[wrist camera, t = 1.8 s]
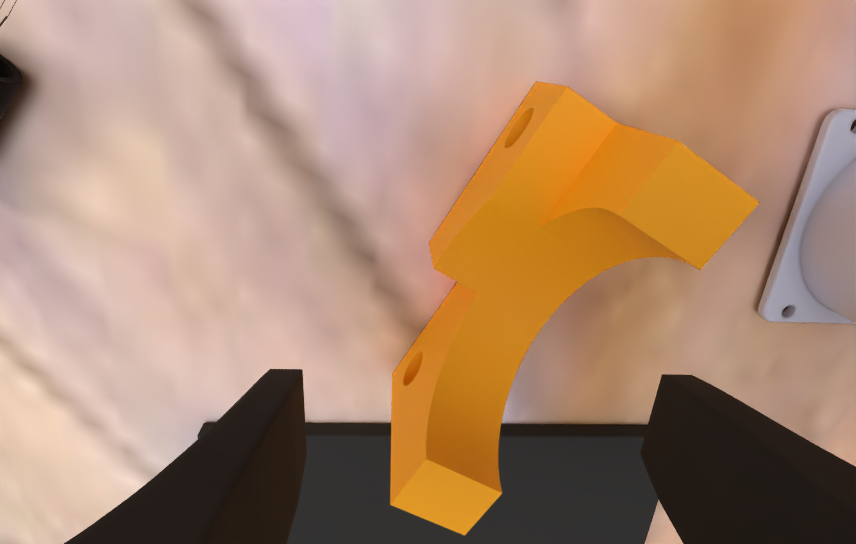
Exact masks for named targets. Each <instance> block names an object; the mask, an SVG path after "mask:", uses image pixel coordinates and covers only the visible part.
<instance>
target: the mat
mask: <svg viewBox="0 0 856 544" xmlns="http://www.w3.org/2000/svg"><path fill="white" fill-rule="evenodd" d="M214 424H215V423H204V424H203V426H202V428H201V430H200V432H199V434H198V439H199V438H200V437H201V436H202V435H203V434H204V433H205V432H206V431H207V430H208V429H209V428H211V427H212V426H213V425H214ZM647 427H648V425H501V428H500V435H499V447H498V468H499V478H500V484H501V489H502V494H501V495H500V496H499V497H498V499H497V500H496V501H495V502H494V503H493V504H492V505H491V506H490V508H489V509H488V510H487V511H486V512H485V513H484V514H483V515H482V517H481V518H480V519H479V520H478V521H477V522H476V523H475V524H474V526H473V527H472V528H471V529H470V530H469V531H468V532H467V533H466V535H465V536H464V535H462V534H460V533H457V532H455V531H452V530H450V529H448V528H445V527H443V526H440V525H438V524H435V523H433V522H431V521H428V520H426V519H423V518H421V517H418V516H416V515H414V514H411V513H409V512H406V511H404V510H402V509H399V508H397V507H394V506H392V505H390V485H391V424H305V430H306V449H307V454H306V460H305V466H304V472H303V478H302V484H301V490H300V496H299V501H298V505H297V509H296V513H295V516H294V520H293V523H292V527H291V530H290V534H289V537H288V541H287V544H645V540H646V537H647V534H648V531H649V528H650V524H651V521H652V518H653V515H654V512H655V509H656V505H657V502H658V499H659V498H658V496H657V494H656V492H655V489H654V487H653V485H652V482H651V480H650V478H649V475H648V472H647V470H646V467H645V465H644V462H643V460H642V457H641V455H640V452H641V448H642V445H643V441H644V437H645V434H646V430H647Z"/></svg>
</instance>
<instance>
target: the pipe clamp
mask: <svg viewBox="0 0 856 544" xmlns="http://www.w3.org/2000/svg"><path fill="white" fill-rule="evenodd" d="M759 203H760V202H759V201H757V200H756V199H755V198H753V197H752V196H751V195H749V194H748V193H747V192H745V191H744V190H743V189H741V188H740V187H739V186H737V185H736V184H735V183H733V182H732V181H731V180H730V179H728V178H727V177H726V176H724V175H723V174H722V173H720V172H719V171H718V170H716V169H715V168H714V167H712V166H711V165H710V164H708V163H707V162H706V161H704V160H703V159H702V158H700V157H699V156H698V155H697V154H695V153H694V152H693V151H691V150H690V149H689V148H687V147H686V146H685V145H683V144H682V143H681V142H679V141H677V140H674V139H671V138H667V137H664V136H660V135H657V134H653V133H650V132H646V131H643V130H640V129H636V128H633V127H629V126H626V125H622V124H619V123H617V122H615V121H614V120H612V119H611V118H610V117H608V116H607V115H606V114H604V113H603V112H602V111H600V110H599V109H598V108H596V107H595V106H593V105H592V104H591V103H589V102H588V101H587V100H585V99H584V98H583V97H581V96H580V95H579V94H577V93H576V92H574V91H573V90H572V89H570V88H569V87H568V86H562V85H556V84H549V83H543V82H537V81H536V82H535V84H534V85H533V87H532V88H531V90H530V92H529V93H528V95H527V96H526V98H525V99H524V101H523V102H522V104H521V105H520V107H519V108H518V110H517V111H516V113H515V114H514V116H513V117H512V119H511V120H510V122H509V123H508V125H507V126H506V128H505V129H504V131H503V132H502V134H501V135H500V137H499V138H498V140H497V141H496V143H495V144H494V146H493V147H492V149H491V150H490V152H489V153H488V155H487V156H486V158H485V159H484V161H483V162H482V164H481V165H480V167H479V168H478V170H477V171H476V173H475V174H474V176H473V177H472V179H471V180H470V182H469V183H468V185H467V186H466V188H465V189H464V191H463V192H462V194H461V195H460V197H459V198H458V200H457V201H456V203H455V204H454V206H453V207H452V209H451V210H450V212H449V213H448V215H447V216H446V218H445V219H444V221H443V222H442V224H441V225H440V227H439V228H438V230H437V231H436V233H435V234H434V236H433V237H432V239H431V240H430V242H429V245H430V251H431V257H432V262H433V268H434V269H436V270H437V271H439V272H441V273H443V274H445V275H446V276H448V277H450V278H452V279H453V280H455V281H457V283H456V285H455V286H454V287H453V289H452V290H451V292H450V293H449V294H448V296H447V297H446V299H445V300H444V301H443V303H442V304H441V306H440V307H439V309H438V310H437V311H436V313H435V314H434V316H433V317H432V318H431V320H430V321H429V323H428V324H427V326H426V327H425V328H424V330H423V331H422V333H421V334H420V335H419V337H418V338H417V340H416V341H415V342H414V344H413V345H412V347H411V348H410V350H409V351H408V352H407V354H406V355H405V357H404V358H403V359H402V361H401V362H400V364H399V365H398V367H397V368H396V369H395V371H394V372H393V374H392V418H391V485H390V505H392V506H394V507H397V508H399V509H402V510H404V511H406V512H409V513H411V514H414V515H416V516H418V517H421V518H423V519H426V520H428V521H431V522H433V523H435V524H438V525H440V526H443V527H445V528H448V529H450V530H452V531H455V532H457V533H460V534H462V535H464V536H465V535H466V533H467V532H468V531H469V530H470V529H471V528H472V527H473V526H474V524H475V523H476V522H477V521H478V520H479V519H480V518H481V517H482V515H483V514H484V513H485V512H486V511H487V510H488V509H489V508H490V506H491V505H492V504H493V503H494V502H495V501H496V500H497V499H498V497H499V496H500V495H501V494H502V489H501V484H500V478H499V468H498V447H499V435H500V428H501V422H502V416H503V412H504V408H505V404H506V401H507V397H508V394H509V391H510V388H511V385H512V382H513V380H514V377H515V375H516V373H517V370H518V368H519V366H520V364H521V362H522V360H523V358H524V356H525V354H526V352H527V350H528V349H529V347H530V345H531V343H532V342H533V340H534V339H535V337H536V335H537V334H538V332H539V331H540V330H541V328H542V327H543V325H544V324H545V323H546V321H547V320H548V319H549V318H550V316H551V315H552V314H553V313H554V312H555V311H556V309H557V308H558V307H559V306H560V305H561V304H562V303H563V302H564V301H565V300H566V299H567V298H568V297H569V296H570V295H571V294H572V293H574V292H575V291H576V290H577V289H578V288H579V287H581V286H582V285H583V284H585V283H586V282H587V281H589V280H590V279H592V278H593V277H595V276H596V275H598V274H600V273H601V272H603V271H605V270H607V269H609V268H611V267H613V266H616V265H618V264H621V263H624V262H627V261H630V260H634V259H639V258H644V257H668V258H672V259H677V260H680V261H683V262H686V263H688V264H690V265H692V266H694V267H696V268H697V269H699V270H701V268H702V267H703V266H704V265H705V264H706V263H707V262H708V261H709V259H710V258H711V257H712V256H713V255H714V254H715V253H716V252H717V250H718V249H719V248H720V247H721V246H722V245H723V244H724V243H725V241H726V240H727V239H728V238H729V237H730V236H731V235H732V234H733V232H734V231H735V230H736V229H737V228H738V227H739V226H740V224H741V223H742V222H743V221H744V220H745V219H746V218H747V217H748V215H749V214H750V213H751V212H752V211H753V210H754V209H755V208H756V206H757V205H758V204H759Z"/></svg>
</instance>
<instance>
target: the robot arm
mask: <svg viewBox="0 0 856 544" xmlns="http://www.w3.org/2000/svg"><path fill="white" fill-rule="evenodd" d="M854 120H856V109H847V108H840V109H835V110H833V111H832V112H830V113H829V114H828V115H827V116H826V117H825V119H824V121H823V123H822V125H821V128H820V131H819V134H818V137H817V140H816V143H815V145H814V148H813V151H812V154H811V157H810V160H809V163H808V166H807V168H806V171H805V174H804V177H803V180H802V183H801V186H800V189H799V192H798V194H797V197H796V200H795V203H794V206H793V209H792V212H791V215H790V217H789V220H788V223H787V226H786V229H785V232H784V235H783V238H782V240H781V243H780V246H779V249H778V252H777V255H776V258H775V261H774V263H773V266H772V269H771V272H770V275H769V278H768V281H767V284H766V286H765V289H764V292H763V295H762V298H761V301H760V304H759V307H758V313H759V315H760V316H761V317H762V318H763V319H765V320H766V321H769V322H789V323H835V324H856V125H855V127H854V129H852V130H851V124H852V123H853V121H854ZM787 306H788V308H787V309H786V310H785V311H784V312H782V311H783V309H784V308H786V307H787ZM306 454H307V449H306V430H305V411H304V392H303V373H302V369H270V370H269V371H268V372H266V373H265V374H264V375H263V376H262V377H261V378H260V379H259V380H258V381H257V382H256V383H255V384H254V385H253V386H252V387H251V388H250V389H249V390H248V391H247V392H246V393H245V394H244V395H243V396H242V397H241V398H240V399H239V400H238V401H237V402H236V403H235V404H234V405H233V406H232V407H231V408H230V409H229V410H228V411H227V412H226V413H225V414H224V415H223V416H222V417H221V418H220V419H219V420H218V421H217V422H216V423H215V424H214V425H213V426H212V427H211V428H209V429H208V430H207V431H206V432H205V433H204V434H203V435H202V436H201V437H200V438H199V439H198V440H197V441H196V442H195V443H193V444H192V445H191V446H190V447H189V448H188V449H187V450H186V451H184V452H183V453H182V454H181V455H180V456H179V457H177V458H176V459H175V460H174V461H173V462H172V463H170V464H169V465H168V466H167V467H166V468H165V469H164V470H162V471H161V472H160V473H159V474H158V475H157V476H155V477H154V478H153V479H152V480H151V481H149V482H148V483H147V484H146V485H144V486H143V487H142V488H141V489H139V490H138V491H137V492H136V493H134V494H133V495H132V496H130V497H129V498H128V499H127V500H125V501H124V502H122V503H121V504H120V505H118V506H117V507H116V508H114V509H113V510H112V511H110V512H109V513H107V514H106V515H105V516H103V517H102V518H101V519H99V520H98V521H97V522H95V523H94V524H92V525H91V526H90V527H88V528H87V529H85V530H84V531H82V532H81V533H79V534H78V535H76V536H75V537H73V538H72V539H70V540H69V541H67V542H66V543H64V544H287V541H288V537H289V534H290V530H291V527H292V523H293V520H294V516H295V513H296V509H297V505H298V501H299V496H300V490H301V484H302V478H303V472H304V466H305V460H306ZM640 455H641V457H642V460H643V462H644V465H645V467H646V470H647V472H648V475H649V478H650V480H651V482H652V485H653V487H654V489H655V492H656V494H657V496H658V498H659V501H660V503H661V504H662V506H663V508H664V510H665V512H666V514H667V515H668V517H669V519H670V521H671V522H672V524H673V526H674V528H675V529H676V531H677V533H678V535H679V537H680V538H681V540H682V542H683V544H856V467H855V466H853V465H851V464H850V463H848V462H846V461H844V460H842V459H840V458H838V457H837V456H835V455H833V454H831V453H829V452H828V451H826V450H824V449H822V448H820V447H819V446H817V445H815V444H813V443H812V442H810V441H808V440H806V439H805V438H803V437H801V436H799V435H798V434H796V433H794V432H792V431H791V430H789V429H787V428H785V427H784V426H782V425H780V424H779V423H777V422H775V421H773V420H772V419H770V418H768V417H767V416H765V415H763V414H761V413H760V412H758V411H756V410H755V409H753V408H751V407H750V406H748V405H746V404H744V403H743V402H741V401H739V400H737V399H736V398H734V397H732V396H731V395H729V394H727V393H725V392H723V391H722V390H720V389H718V388H716V387H714V386H713V385H711V384H709V383H707V382H705V381H703V380H701V379H699V378H697V377H695V376H692V375H664V374H662V377H661V380H660V384H659V387H658V391H657V395H656V398H655V402H654V405H653V409H652V412H651V416H650V420H649V423H648V427H647V430H646V434H645V437H644V441H643V445H642V448H641V452H640Z"/></svg>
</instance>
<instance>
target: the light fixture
mask: <svg viewBox="0 0 856 544" xmlns="http://www.w3.org/2000/svg"><path fill="white" fill-rule="evenodd" d="M4 1H5V0H4ZM16 1H17V0H16ZM3 3H4V2H3ZM3 3H2V5H3ZM15 3H16V2H15ZM15 3H14V4H15ZM2 5H1V7H2ZM13 6H14V5H13ZM1 7H0V8H1ZM12 8H13V7H12ZM11 10H12V9H11ZM10 12H11V11H10ZM9 14H10V13H9ZM9 14H8V16H9ZM8 16H6V17H5V18H4V19H3V21H2V22H1V23H0V26H1V25H2V24H3V22H4V21H5V20H6V19H7V17H8ZM22 81H23V76H22V74H21V72H20V71H19V70H18V69H17V68H16V67H15V66H14V65H13V64H12V63H11V62H10V61H8V60H7V59H6V58H4V57H3V56H1V55H0V121H1V119H2V117H3V115H4V113H5V112H6V110H7V108H8V106H9V105H10V103H11V101H12V99H13V98H14V96H15V94H16V92H17V90H18V89H19V87H20V85H21V83H22Z"/></svg>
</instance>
